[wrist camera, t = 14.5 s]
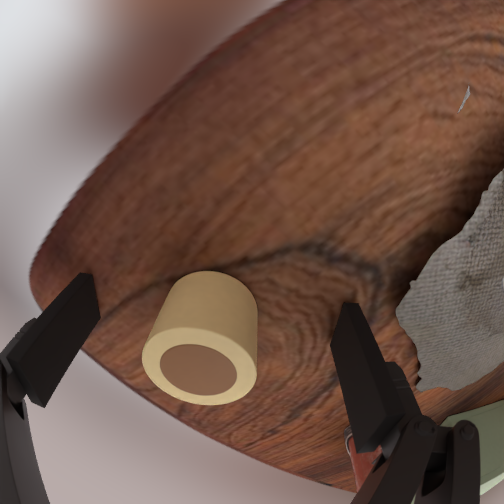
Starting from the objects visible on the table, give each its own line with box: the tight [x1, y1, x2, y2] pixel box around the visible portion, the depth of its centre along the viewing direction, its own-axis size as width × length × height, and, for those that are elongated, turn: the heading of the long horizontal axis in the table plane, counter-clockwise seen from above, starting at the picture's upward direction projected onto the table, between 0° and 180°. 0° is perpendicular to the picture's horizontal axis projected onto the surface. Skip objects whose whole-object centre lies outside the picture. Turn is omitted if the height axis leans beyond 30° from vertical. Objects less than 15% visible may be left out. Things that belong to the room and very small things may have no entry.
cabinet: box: [411, 400, 504, 504], centre depth 18 cm, size 13×11×9 cm
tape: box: [142, 271, 258, 405], centre depth 12 cm, size 4×4×4 cm
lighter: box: [344, 426, 382, 493], centre depth 15 cm, size 8×3×10 cm, turn 27°
